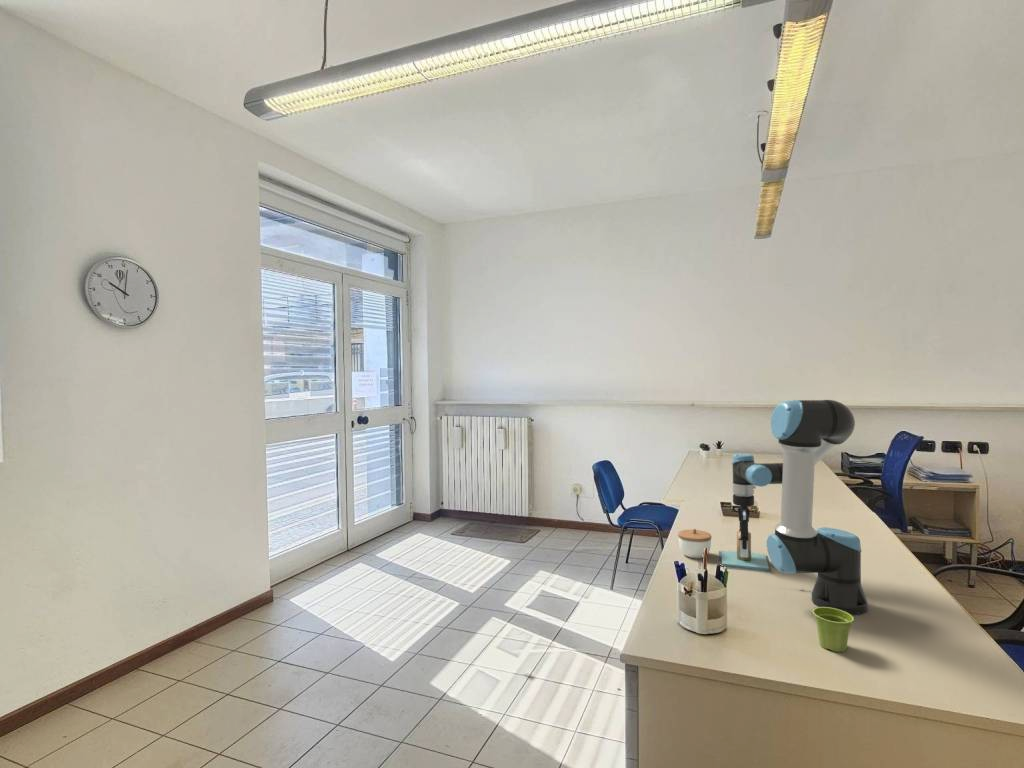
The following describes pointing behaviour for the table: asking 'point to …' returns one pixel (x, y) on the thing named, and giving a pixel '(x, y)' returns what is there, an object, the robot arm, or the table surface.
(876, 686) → the table surface
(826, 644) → the plant pot
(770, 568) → the mat
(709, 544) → the lidded bowl
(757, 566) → the cover board
